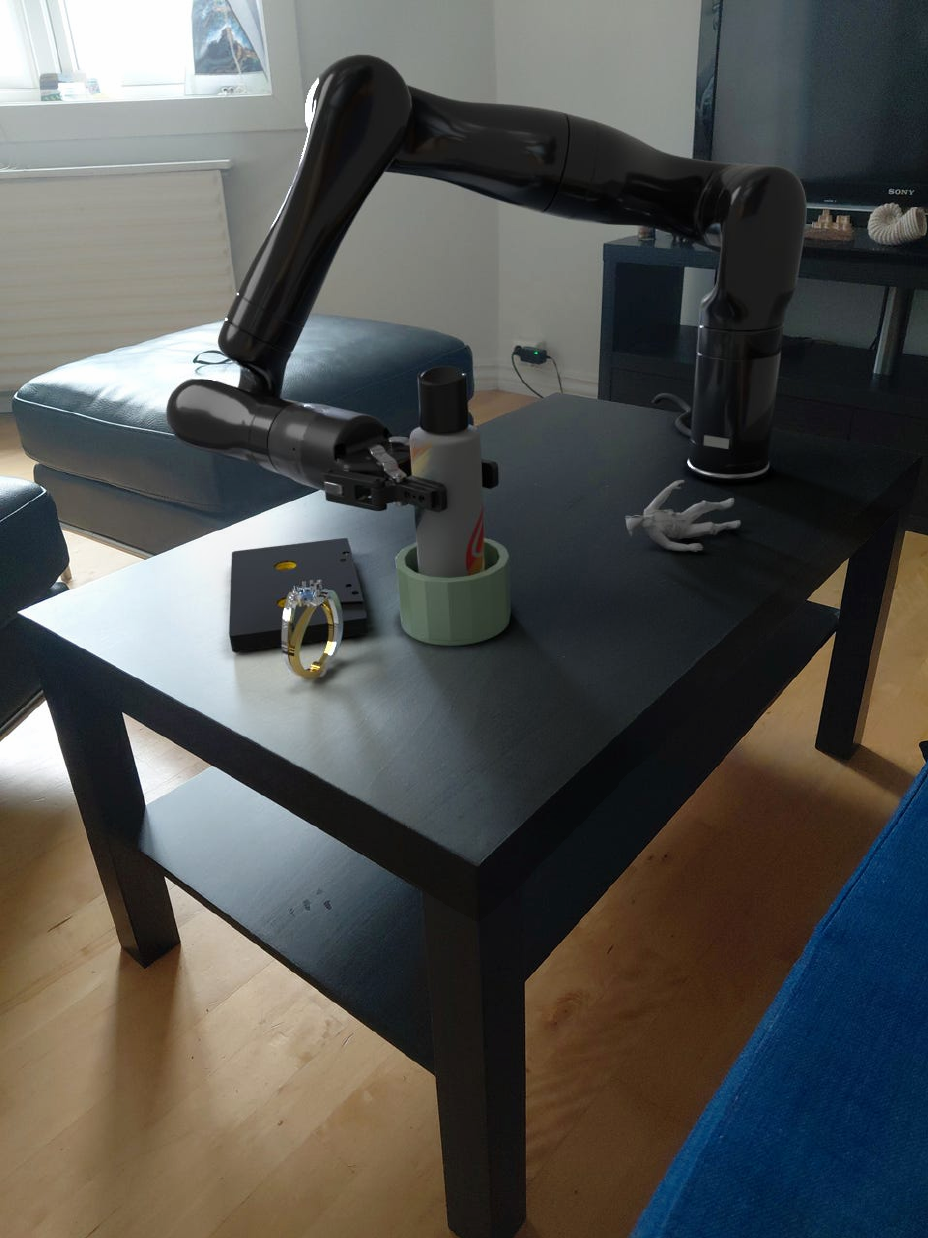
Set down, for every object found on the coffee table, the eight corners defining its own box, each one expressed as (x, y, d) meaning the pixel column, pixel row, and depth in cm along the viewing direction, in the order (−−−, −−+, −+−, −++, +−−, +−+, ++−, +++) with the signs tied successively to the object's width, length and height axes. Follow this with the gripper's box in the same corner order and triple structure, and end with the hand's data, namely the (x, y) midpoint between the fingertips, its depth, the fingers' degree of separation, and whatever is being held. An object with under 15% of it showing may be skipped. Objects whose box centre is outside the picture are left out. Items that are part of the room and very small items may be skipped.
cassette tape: (369, 637, 81) (366, 614, 80) (232, 655, 79) (228, 633, 78) (349, 554, 97) (347, 534, 96) (234, 568, 95) (231, 548, 94)
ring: (328, 650, 79) (317, 564, 75) (360, 658, 78) (350, 571, 74) (276, 691, 74) (261, 600, 70) (308, 701, 72) (295, 608, 69)
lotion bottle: (493, 589, 84) (488, 363, 74) (473, 619, 79) (464, 381, 70) (434, 582, 86) (420, 360, 76) (410, 611, 81) (393, 377, 71)
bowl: (397, 600, 87) (391, 540, 84) (499, 589, 88) (497, 529, 85) (406, 651, 78) (400, 586, 76) (519, 639, 79) (518, 574, 77)
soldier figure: (750, 551, 95) (665, 543, 89) (716, 570, 99) (631, 563, 92) (730, 482, 98) (645, 469, 91) (697, 503, 101) (613, 492, 95)
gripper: (261, 428, 79) (405, 467, 69) (383, 390, 88) (525, 419, 79) (273, 512, 83) (412, 560, 73) (389, 466, 92) (526, 503, 82)
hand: (470, 487), depth 76 cm, fingers closed on lotion bottle, 5 cm apart
